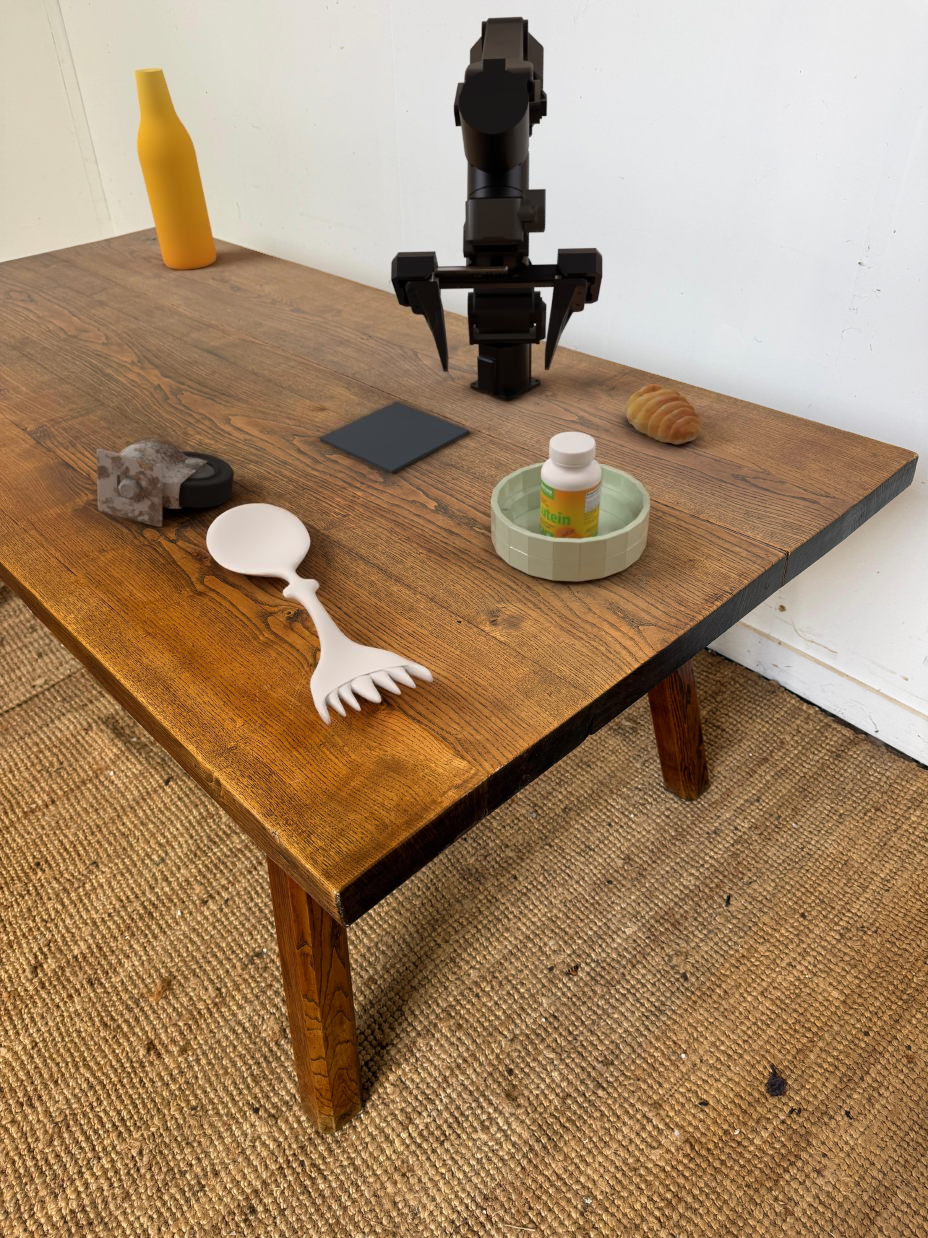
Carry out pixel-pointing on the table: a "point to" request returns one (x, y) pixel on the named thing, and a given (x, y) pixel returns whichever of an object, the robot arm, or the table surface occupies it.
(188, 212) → the beer bottle
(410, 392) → the table surface
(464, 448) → the table surface
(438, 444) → the mat
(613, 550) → the bowl
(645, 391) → the pastry
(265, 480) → the table surface
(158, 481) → the caster wheel
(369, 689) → the spoon
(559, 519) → the supplement bottle
